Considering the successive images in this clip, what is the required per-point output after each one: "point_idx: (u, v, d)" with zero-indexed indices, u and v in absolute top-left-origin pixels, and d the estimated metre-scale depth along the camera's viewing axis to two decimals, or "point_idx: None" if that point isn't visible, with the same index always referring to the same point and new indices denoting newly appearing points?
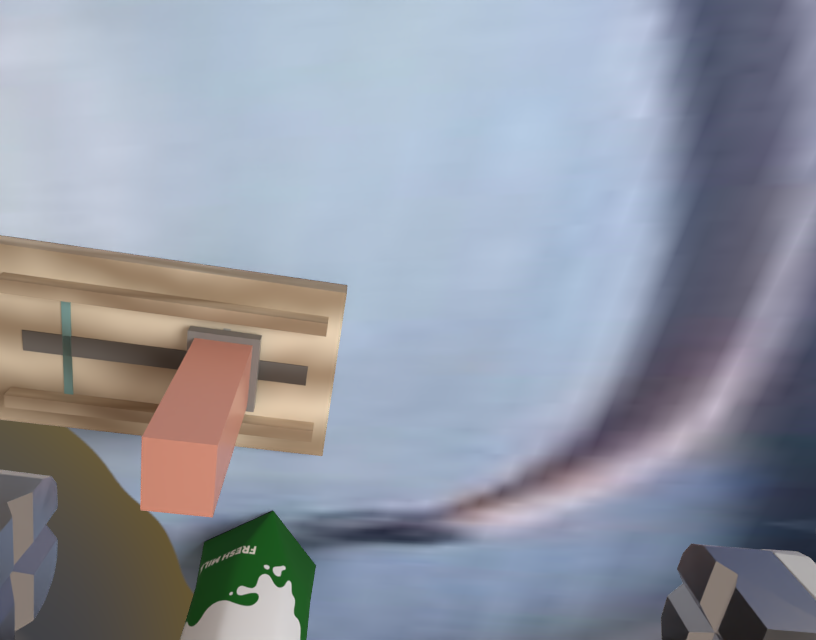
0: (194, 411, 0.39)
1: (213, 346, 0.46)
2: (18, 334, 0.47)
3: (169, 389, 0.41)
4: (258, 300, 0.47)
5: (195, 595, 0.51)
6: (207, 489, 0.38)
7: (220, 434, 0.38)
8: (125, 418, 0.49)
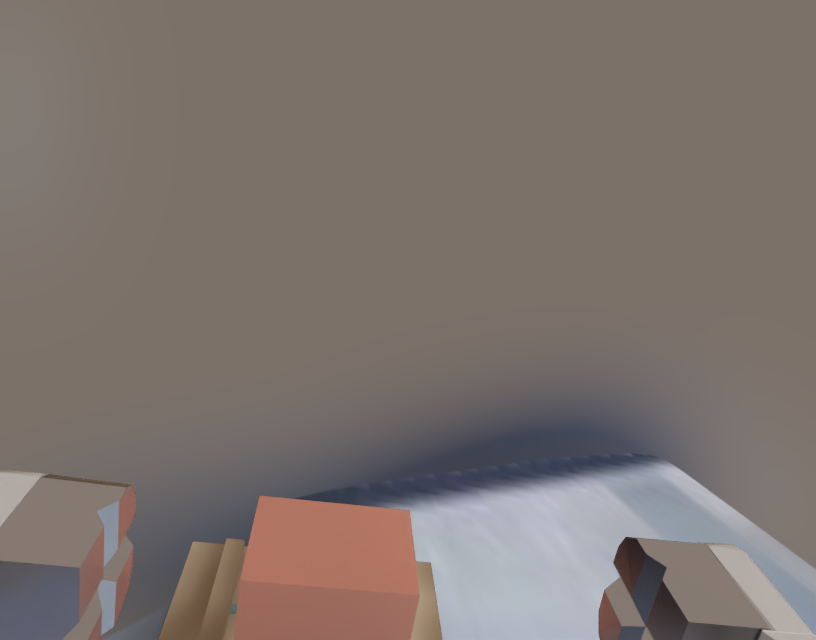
0: None
1: None
2: None
3: None
4: None
5: None
6: (311, 576, 0.19)
7: (413, 622, 0.19)
8: None
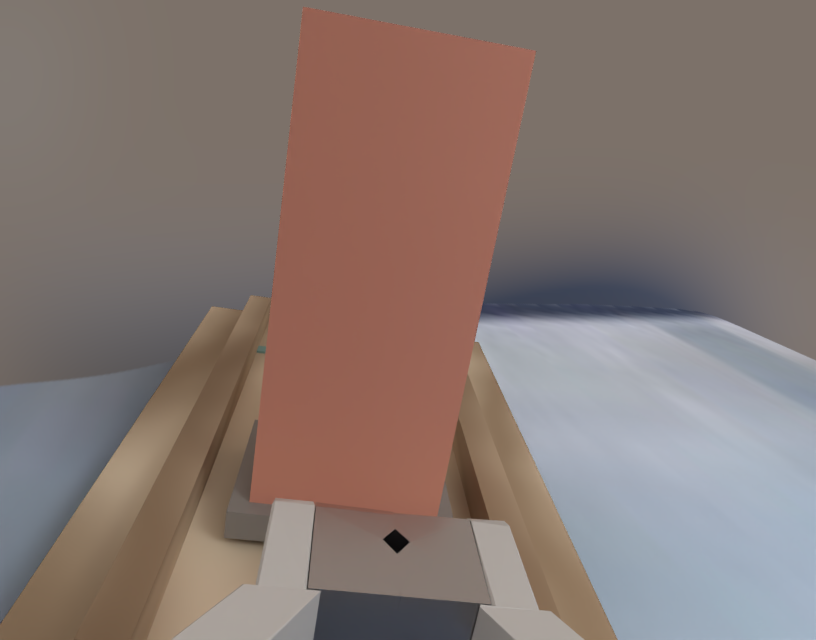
0: None
1: None
2: None
3: None
4: None
5: None
6: (394, 25, 0.14)
7: (524, 100, 0.15)
8: (223, 361, 0.25)
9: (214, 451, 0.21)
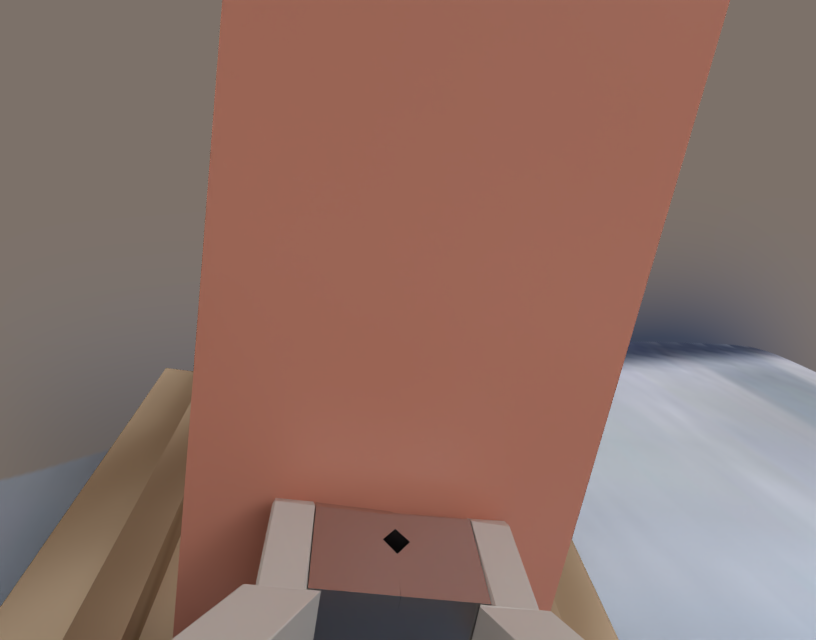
0: None
1: None
2: None
3: None
4: None
5: None
6: None
7: (699, 95, 0.07)
8: (157, 480, 0.17)
9: None
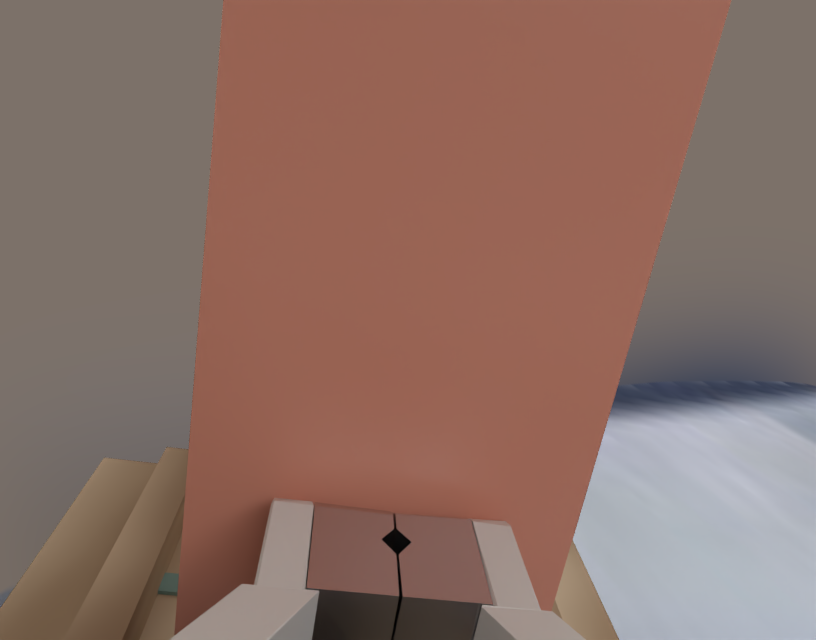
0: None
1: None
2: None
3: None
4: None
5: None
6: None
7: (700, 95, 0.07)
8: None
9: None
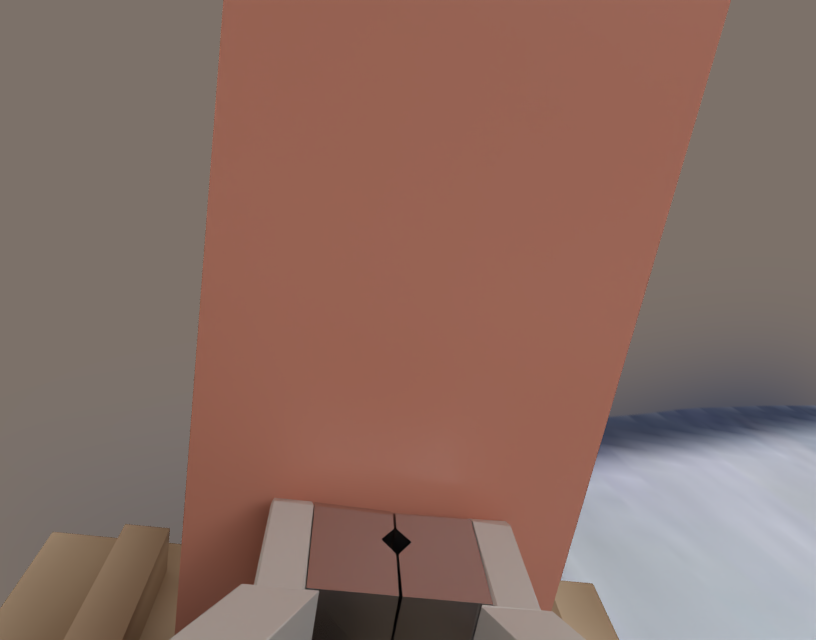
0: None
1: None
2: None
3: None
4: None
5: None
6: None
7: (699, 95, 0.07)
8: None
9: None
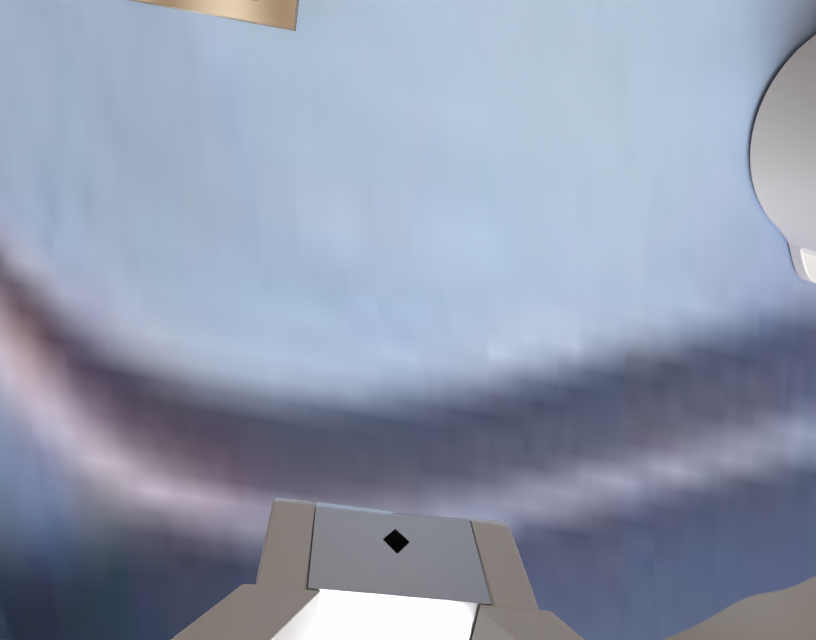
0: None
1: None
2: None
3: None
4: None
5: None
6: None
7: None
8: None
9: None
